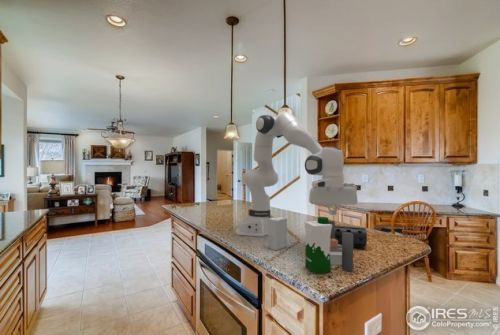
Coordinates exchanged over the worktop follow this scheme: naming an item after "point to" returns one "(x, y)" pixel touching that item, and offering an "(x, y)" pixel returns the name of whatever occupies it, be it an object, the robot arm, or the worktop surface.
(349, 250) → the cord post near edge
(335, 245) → the block
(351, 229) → the muzzle brake
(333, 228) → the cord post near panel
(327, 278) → the worktop surface
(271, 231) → the skincare box
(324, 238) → the soya milk
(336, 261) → the panel
